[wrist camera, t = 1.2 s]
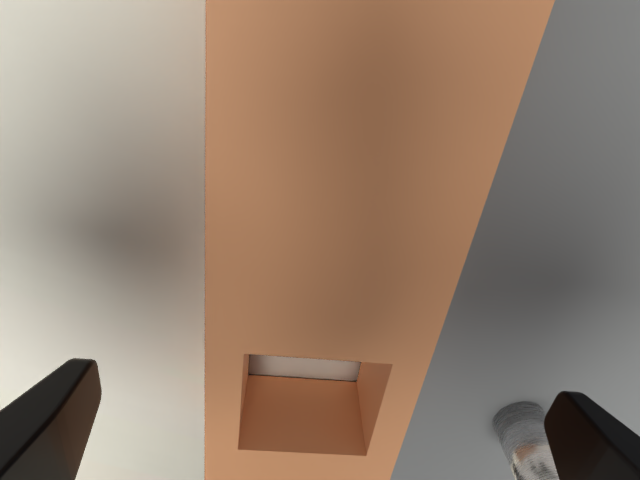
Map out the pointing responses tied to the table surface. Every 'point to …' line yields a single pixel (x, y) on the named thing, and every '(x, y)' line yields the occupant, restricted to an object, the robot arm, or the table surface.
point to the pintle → (525, 441)
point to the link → (343, 212)
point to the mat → (546, 255)
